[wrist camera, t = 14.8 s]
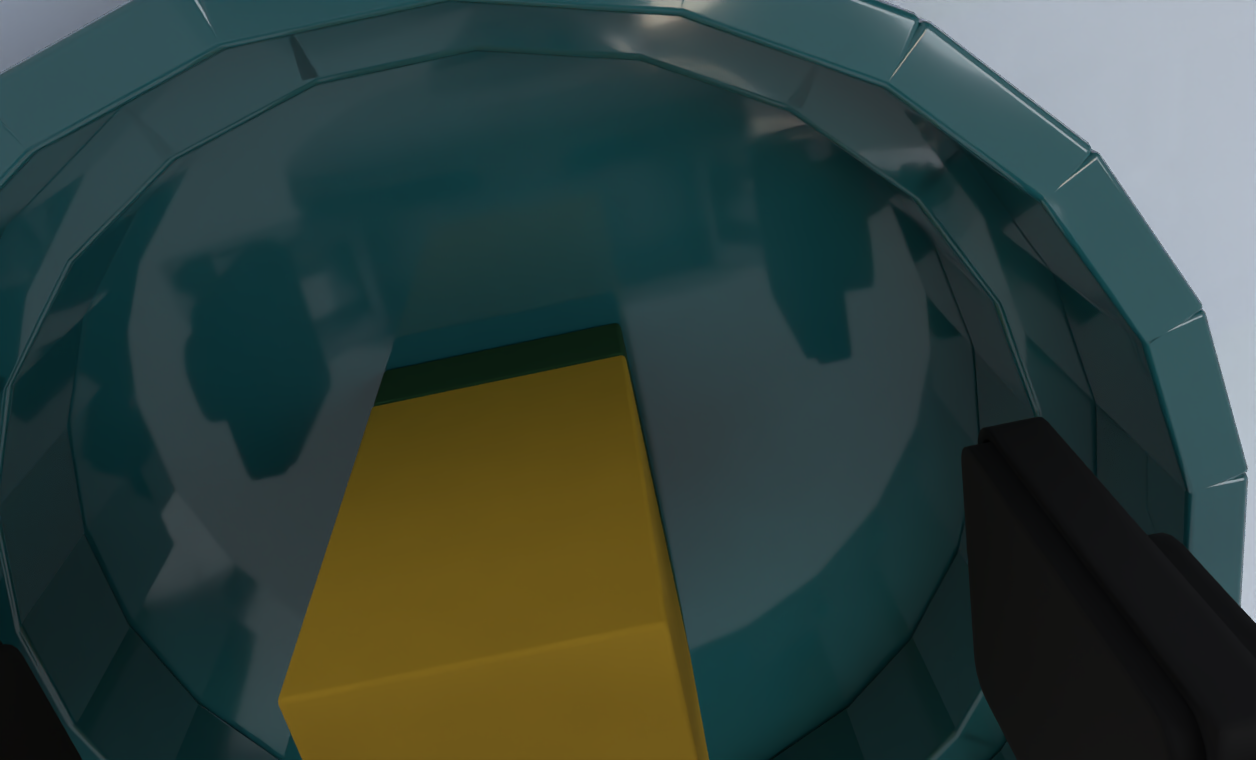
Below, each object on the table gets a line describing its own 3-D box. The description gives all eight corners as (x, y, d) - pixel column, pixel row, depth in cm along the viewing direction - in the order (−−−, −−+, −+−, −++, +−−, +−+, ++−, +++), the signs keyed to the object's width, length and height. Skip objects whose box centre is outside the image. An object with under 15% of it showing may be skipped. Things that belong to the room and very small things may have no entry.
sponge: (382, 369, 14) (274, 702, 8) (619, 320, 14) (667, 622, 8) (473, 652, 16) (434, 1073, 10) (681, 610, 15) (754, 1011, 10)
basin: (-240, 52, 12) (-639, 148, 8) (1037, -225, 12) (1296, -272, 8) (216, 922, 18) (120, 1227, 14) (1066, 754, 18) (1219, 1016, 14)
